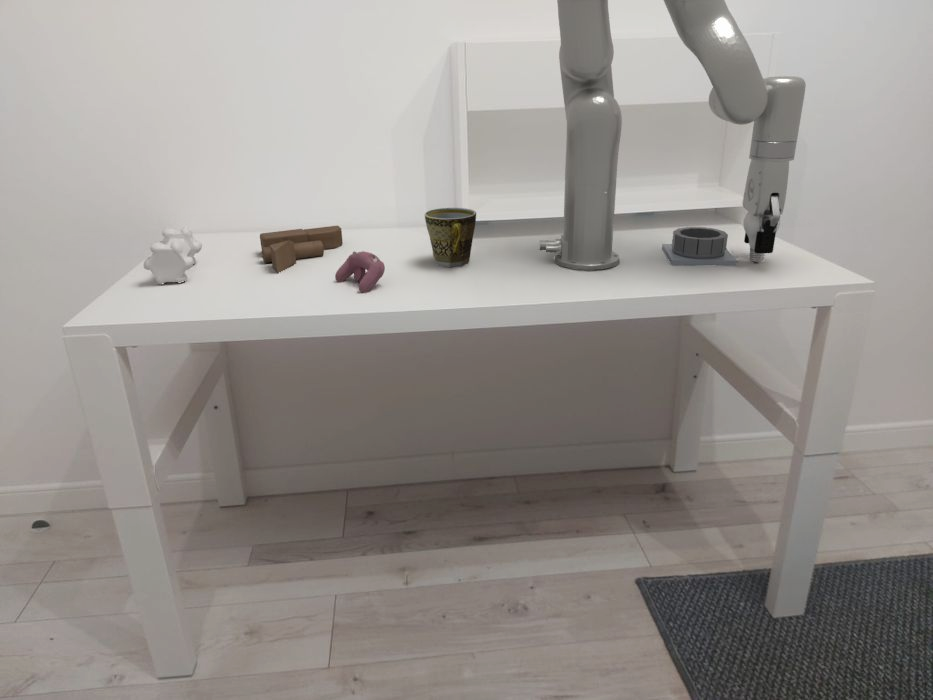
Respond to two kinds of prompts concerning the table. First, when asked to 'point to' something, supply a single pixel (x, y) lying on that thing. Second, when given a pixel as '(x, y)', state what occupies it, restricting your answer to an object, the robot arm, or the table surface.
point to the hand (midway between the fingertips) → (758, 246)
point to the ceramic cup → (451, 235)
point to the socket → (699, 247)
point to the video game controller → (362, 270)
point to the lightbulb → (754, 234)
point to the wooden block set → (298, 245)
